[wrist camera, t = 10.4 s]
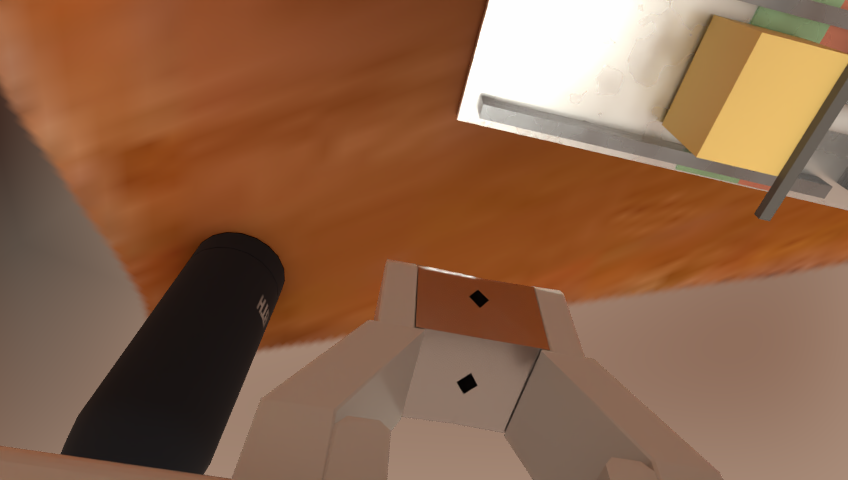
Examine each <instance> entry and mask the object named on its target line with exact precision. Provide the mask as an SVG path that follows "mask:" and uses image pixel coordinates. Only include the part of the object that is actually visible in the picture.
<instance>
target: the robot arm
mask: <svg viewBox="0 0 848 480" xmlns="http://www.w3.org/2000/svg"><path fill="white" fill-rule="evenodd" d="M401 417H407V418H414V419H423V420H429V421H438V422H445V423H453V424H458V425H463V426H469V427H474V428H479V429H485V430H490V431H495V432H501V433H505V434H504V436H505V438H506V439H507V441H508V442H509V444H510V445H511V447H512V448H513V450H514V451H515V453H516V455H517V456H518V458H519V459H520V461H521V462H522V464H523V465H524V467H525V468H526V470H527V471H528V473H529V474H530V476H531V477H532V479H533V480H723V478H722V476H721V474H720V472H719V471H718V470H716V469H715V468H714V467H713V466H712V465H711V464H710V463H709V462H707V460H705V459H704V458H703V457H702V456H701V455H700V454H699V453H698V452H697V451H695V450H694V449H693V448H692V447H691V446H690V445H689V444H688V443H687V442H685V441H684V440H683V439H682V438H681V437H680V436H679V435H678V434H677V433H675V432H674V431H673V430H672V429H671V428H670V427H669V426H667V424H666V423H664V422H663V421H662V420H661V419H660V418H659V417H658V416H657V415H655V414H654V413H653V412H652V411H651V410H650V409H649V408H648V407H647V406H646V405H644V404H643V403H642V402H641V401H640V400H639V399H638V398H637V397H636V396H634V395H633V394H632V393H631V392H630V391H629V390H628V389H627V388H626V387H624V386H623V385H622V384H621V383H620V382H619V381H618V380H617V379H616V378H614V377H613V376H612V375H611V374H610V373H609V372H608V371H607V370H606V369H604V368H603V367H602V366H601V365H600V364H599V363H598V362H597V361H596V360H594V359H592V358H586V357H585V356H584V353H583V350H582V347H581V344H580V341H579V338H578V335H577V332H576V330H575V326H574V323H573V320H572V317H571V314H570V311H569V308H568V306H567V303H566V300H565V297H564V294H563V293H562V292H561V291H560V290H553V289H547V288H540V287H533V286H531V287H530V286H524V285H518V284H512V283H506V282H500V281H494V280H488V279H482V278H476V277H475V276H470V275H465V274H460V273H455V272H450V271H445V270H440V269H436V268H431V267H426V266H421V265H416V264H412V263H406V262H400V261H395V260H389V259H387V262H386V265H385V269H384V274H383V279H382V283H381V288H380V293H379V297H378V302H377V307H376V312H375V317H374V321H373V320H368V321H366V322H365V323H364V324H362V325H361V326H360V327H358V328H357V329H356V330H354V331H353V332H351V333H350V334H349V335H347V336H346V337H345V338H343V339H342V340H341V341H339V342H338V343H336V344H335V345H334V346H332V347H331V348H330V349H329V350H327V351H326V352H324V353H323V354H321V355H320V356H319V357H318V358H316V359H315V360H313V361H312V362H311V363H309V364H308V365H306V366H305V367H304V368H302V369H301V370H300V371H298V372H297V373H295V374H294V375H293V376H291V377H290V378H289V379H287V380H286V381H285V382H284V383H282V384H280V385H279V386H278V387H276V388H275V389H274V390H272V391H271V392H270V393H268V394H267V395H266V396H264V397H263V398H261V400H260V403H259V405H258V408H257V411H256V413H255V416H254V419H253V422H252V425H251V427H250V430H249V433H248V435H247V438H246V441H245V444H244V447H243V449H242V452H241V455H240V457H239V460H238V463H237V466H236V468H235V471H234V474H233V476H232V479H229V478H222V477H215V476H208V475H201V474H194V473H187V472H180V471H173V470H166V469H159V468H152V467H145V466H138V465H131V464H124V463H117V462H110V461H104V460H97V459H90V458H83V457H76V456H69V455H62V454H55V453H47V452H41V451H34V450H27V449H20V448H13V447H6V446H0V480H387V475H388V462H389V449H390V436H391V431H392V430H393V428H394V427H395V426H396V425H397V423H398V422H399V421H400V419H401Z"/></svg>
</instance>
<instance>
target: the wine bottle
mask: <svg viewBox="0 0 848 480" xmlns="http://www.w3.org/2000/svg"><path fill="white" fill-rule="evenodd" d="M284 281H285V279H284V269H283V266H282V264H281V262H280V260H279V258H278V256H277V255H276V254H275V253H274V252H273V251H272V250H271V249H270V247H269V246H267V245H265V244H264V243H262V242H261V241H259V240H258V239H256V238H253V237H250V236H247V235H244V234H239V233H223V234H218V235H214V236H212V237H210V238H208V239H207V240H205V241H203V242H202V243H201V244H200V246H199V247H198V249H197V250H196V251H195V253H194V254H193V255H192V257H191V258H190V260H189V261H188V262H187V264H186V265H185V267H184V268H183V269H182V271H181V272H180V274H179V275H178V276H177V278H176V279H175V281H174V282H173V283H172V285H171V286H170V288H169V289H168V290H167V292H166V293H165V295H164V296H163V297H162V299H161V300H160V302H159V303H158V304H157V306H156V307H155V309H154V310H153V311H152V313H151V314H150V316H149V317H148V318H147V320H146V321H145V323H144V324H143V325H142V327H141V328H140V330H139V331H138V332H137V334H136V335H135V337H134V338H133V340H132V341H131V343H130V344H129V345H128V347H127V348H126V349H125V351H124V352H123V354H122V355H121V356H120V358H119V359H118V361H117V362H116V363H115V365H114V366H113V368H112V369H111V370H110V372H109V373H108V375H107V376H106V377H105V379H104V380H103V382H102V383H101V384H100V386H99V387H98V389H97V390H96V391H95V393H94V394H93V396H92V397H91V398H90V400H89V401H88V403H87V404H86V405H85V407H84V408H83V410H82V411H81V412H80V414H79V415H78V417H77V419H76V421H75V423H74V425H73V427H72V429H71V432H70V434H69V436H68V438H67V440H66V442H65V445H64V447H63V450H62V452H61V454H62V455H69V456H76V457H83V458H90V459H97V460H104V461H110V462H117V463H124V464H131V465H138V466H145V467H152V468H159V469H166V470H173V471H180V472H187V473H194V474H201V475H203V474H204V473H205V471H206V469H207V468H208V466H209V465H210V463H211V460H212V458H213V456H214V453H215V450H216V448H217V446H218V443H219V441H220V439H221V436H222V433H223V431H224V429H225V426H226V424H227V422H228V419H229V416H230V414H231V412H232V409H233V407H234V405H235V402H236V400H237V397H238V395H239V392H240V390H241V387H242V385H243V383H244V380H245V378H246V375H247V373H248V370H249V368H250V366H251V363H252V361H253V358H254V356H255V354H256V351H257V349H258V346H259V344H260V341H261V339H262V337H263V334H264V332H265V329H266V327H267V324H268V322H269V320H270V317H271V315H272V312H273V310H274V307H275V305H276V303H277V300H278V298H279V295H280V293H281V290H282V287H283V284H284Z"/></svg>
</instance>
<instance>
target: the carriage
mask: <svg viewBox="0 0 848 480" xmlns="http://www.w3.org/2000/svg"><path fill="white" fill-rule="evenodd" d="M847 100H848V53H845V52H842V51H839V50H836V49H833V48H830V47H827V46H824V45H821V44H818V43H816V42H813V41H810V40H807V39H804V38H800V37H797V36H793V35H789V34H785V33H782V32H778V31H774V30H770V29H766V28H763V27H759V26H755V25H751V24H747V23H744V22H740V21H736V20H732V19H728V18H725V17H721V16H717V15H714V16H713V18H712V20H711V22H710V24H709V26H708V29H707V31H706V33H705V35H704V37H703V39H702V41H701V43H700V45H699V48H698V50H697V52H696V54H695V56H694V58H693V60H692V62H691V64H690V66H689V69H688V71H687V73H686V75H685V77H684V79H683V81H682V83H681V85H680V87H679V90H678V92H677V94H676V96H675V98H674V100H673V102H672V104H671V106H670V109H669V111H668V113H667V115H666V117H665V119H664V121H663V123H662V125H663V126H664V127H665V128H666V129H667V130H668V131H669V132H670V133H671V134H672V135H673V136H674V137H675V138H676V139H677V140H679V141H680V142H681V143H682V144H683V145H684V146H685V147H686V148H687V149H688V150H689V151H690V152H691V153H692V154H693V155H694V156H696V157H697V158H701V159H706V160H710V161H714V162H718V163H723V164H727V165H731V166H735V167H740V168H744V169H748V170H753V171H757V172H761V173H765V174H770V175H774V176H778V177H777V178H776V180H775V181H774V183H773V185H772V186H771V188H770V189H769V191H768V193H767V194H766V196H765V198H764V199H763V201H762V202H761V204H760V206H759V207H758V209H757V210H756V212H755V215H756V216H757V217H758V218H759V219H763V220H767V221H770V220H771V218H772V217H773V215H774V214H775V212H776V211H777V209H778V207H779V206H780V204H781V203H782V201H783V200H784V198H785V197H786V195H787V194H788V192H789V190H790V189H791V187H792V186H793V184H794V183H795V181H796V180H797V178H798V176H799V175H800V173H801V172H802V170H803V169H804V167H805V166H806V164H807V162H808V161H809V159H810V158H811V156H812V155H813V153H814V152H815V150H816V149H817V147H818V145H819V144H820V142H821V141H822V139H823V138H824V136H825V135H826V133H827V131H828V130H829V131H833V132H837V133H841V134H846V135H848V105H846V102H847Z"/></svg>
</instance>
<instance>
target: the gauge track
mask: <svg viewBox="0 0 848 480" xmlns="http://www.w3.org/2000/svg"><path fill="white" fill-rule="evenodd" d="M714 15H717V16H721V17H725V18H728V19H732V20H736V21H740V22H744V23H747V24H751V25H755V26H759V27H763V28H766V29H770V30H774V31H778V32H782V33H785V34H789V35H793V36H797V37H800V38H804V39H807V40H810V41H813V42H816V43H818V44H821V45H824V46H827V47H830V48H833V49H836V50H839V51H842V52H845V53H848V0H487V2H486V6H485V10H484V14H483V17H482V21H481V25H480V28H479V32H478V36H477V40H476V43H475V47H474V51H473V55H472V58H471V62H470V66H469V70H468V73H467V77H466V81H465V84H464V88H463V92H462V96H461V99H460V103H459V107H458V111H457V120H460V121H464V122H469V123H473V124H477V125H482V126H486V127H490V128H495V129H499V130H503V131H508V132H512V133H516V134H521V135H525V136H529V137H534V138H538V139H542V140H546V141H551V142H555V143H559V144H564V145H568V146H572V147H577V148H581V149H585V150H590V151H594V152H598V153H603V154H607V155H611V156H616V157H620V158H624V159H629V160H633V161H637V162H641V163H646V164H650V165H654V166H659V167H663V168H667V169H672V170H676V171H680V172H685V173H689V174H693V175H698V176H702V177H706V178H711V179H715V180H719V181H724V182H728V183H732V184H737V185H741V186H745V187H749V188H754V189H758V190H762V191H767V192H768V191H769V189H770V188H771V186H772V185H773V183H774V181H775V180H776V178H777V177H778V176H774V175H770V174H765V173H761V172H757V171H753V170H748V169H744V168H740V167H735V166H731V165H727V164H723V163H718V162H714V161H710V160H706V159H701V158H697V157H696V156H694V155H693V154H692V153H691V152H690V151H689V150H688V149H687V148H686V147H685V146H684V145H683V144H682V143H681V142H680V141H679V140H677V139H676V138H675V137H674V136H673V135H672V134H671V133H670V132H669V131H668V130H667V129H666V128H665V127H664V126H663V125H662V123H663V121H664V119H665V117H666V115H667V113H668V111H669V109H670V106H671V104H672V102H673V100H674V98H675V96H676V94H677V92H678V90H679V87H680V85H681V83H682V81H683V79H684V77H685V75H686V73H687V71H688V69H689V66H690V64H691V62H692V60H693V58H694V56H695V54H696V52H697V50H698V48H699V45H700V43H701V41H702V39H703V37H704V35H705V33H706V31H707V29H708V26H709V24H710V22H711V20H712V18H713V16H714ZM846 105H848V100H847V102H846ZM786 196H788V197H793V198H797V199H801V200H806V201H810V202H814V203H819V204H823V205H827V206H832V207H836V208H840V209H844V210H848V135H846V134H841V133H837V132H833V131H829V130H828V131H827V133H826V135H825V136H824V138H823V139H822V141H821V142H820V144H819V145H818V147H817V149H816V150H815V152H814V153H813V155H812V156H811V158H810V159H809V161H808V162H807V164H806V166H805V167H804V169H803V170H802V172H801V173H800V175H799V176H798V178H797V180H796V181H795V183H794V184H793V186H792V187H791V189H790V190H789V192H788V194H787V195H786Z"/></svg>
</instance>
